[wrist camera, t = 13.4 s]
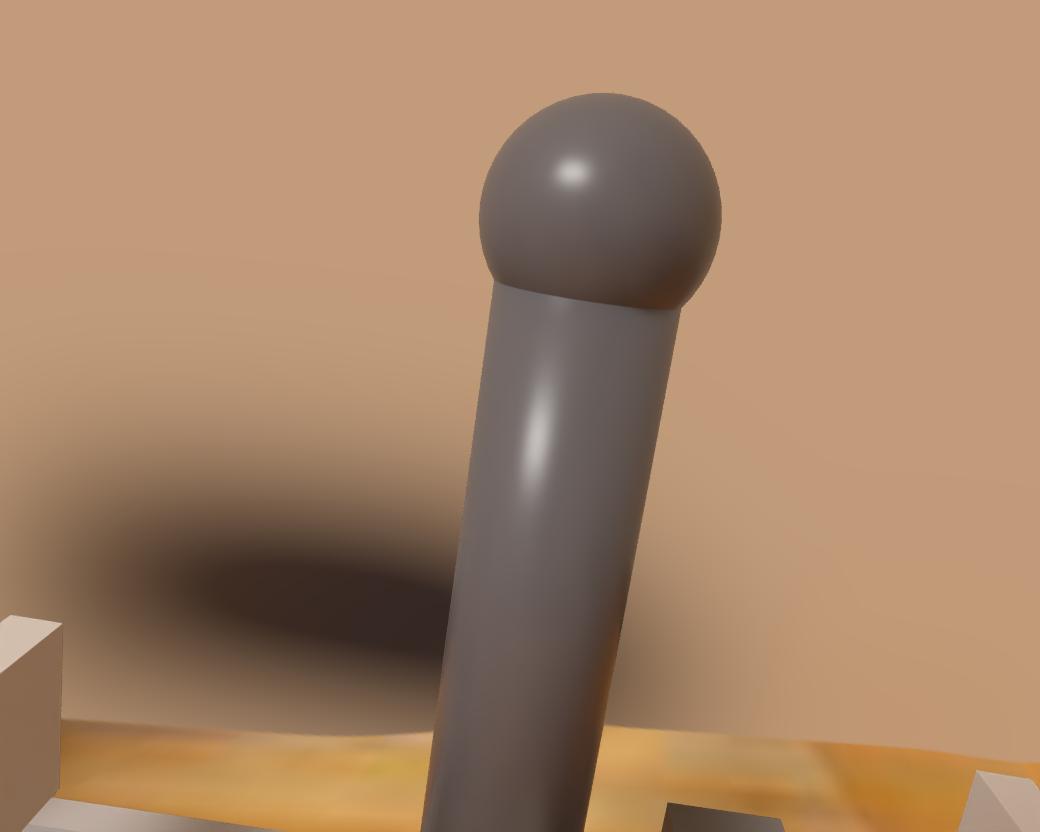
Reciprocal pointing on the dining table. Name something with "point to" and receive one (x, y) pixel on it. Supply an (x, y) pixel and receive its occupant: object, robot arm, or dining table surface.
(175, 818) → the rail bed
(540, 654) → the grey joystick lever
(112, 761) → the dining table surface
